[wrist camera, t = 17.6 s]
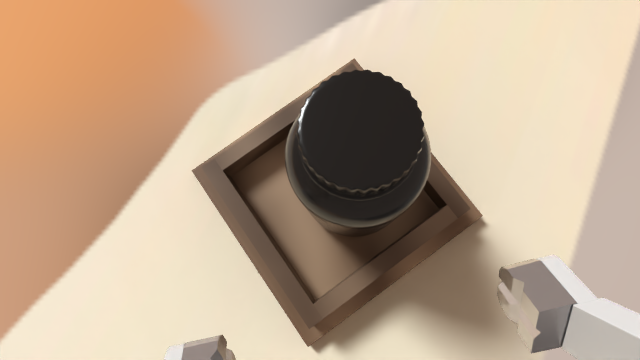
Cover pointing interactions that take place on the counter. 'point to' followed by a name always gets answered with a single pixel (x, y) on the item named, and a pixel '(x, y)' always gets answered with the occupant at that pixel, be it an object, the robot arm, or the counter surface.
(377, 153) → the supplement bottle
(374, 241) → the walnut tray
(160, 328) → the counter surface
